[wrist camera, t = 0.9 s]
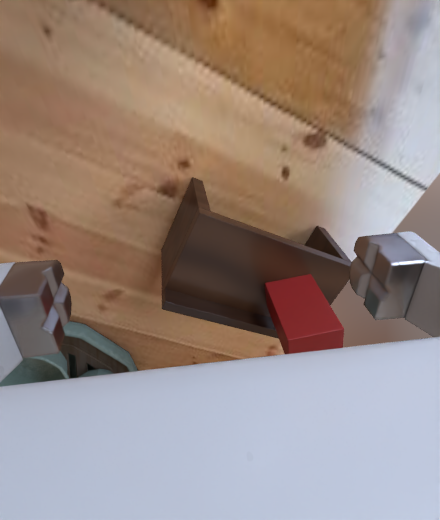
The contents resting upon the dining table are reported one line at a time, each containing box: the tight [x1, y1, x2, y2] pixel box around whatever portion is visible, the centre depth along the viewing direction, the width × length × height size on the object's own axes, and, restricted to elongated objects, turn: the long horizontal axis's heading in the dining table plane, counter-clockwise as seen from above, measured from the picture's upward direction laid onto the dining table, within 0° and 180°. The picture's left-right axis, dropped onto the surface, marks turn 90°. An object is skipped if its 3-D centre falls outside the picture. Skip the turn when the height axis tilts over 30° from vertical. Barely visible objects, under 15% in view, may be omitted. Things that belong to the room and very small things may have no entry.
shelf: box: [161, 177, 352, 338], centre depth 49 cm, size 12×22×14 cm, turn 66°
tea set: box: [0, 321, 138, 387], centre depth 59 cm, size 40×40×16 cm
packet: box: [265, 274, 344, 354], centre depth 43 cm, size 4×6×10 cm, turn 98°
